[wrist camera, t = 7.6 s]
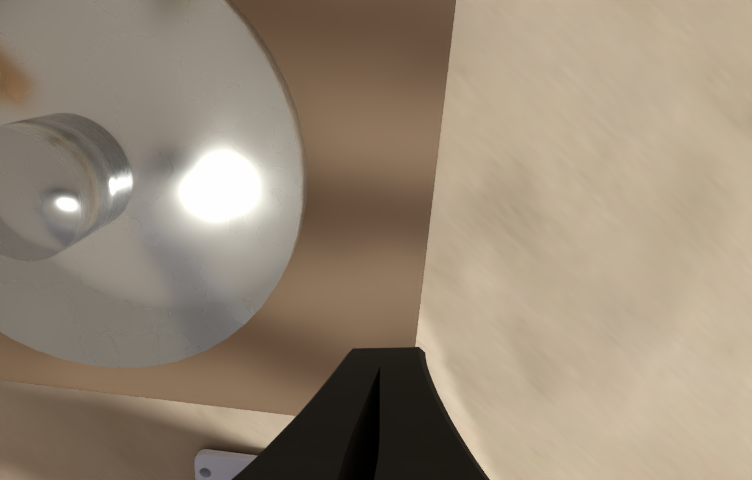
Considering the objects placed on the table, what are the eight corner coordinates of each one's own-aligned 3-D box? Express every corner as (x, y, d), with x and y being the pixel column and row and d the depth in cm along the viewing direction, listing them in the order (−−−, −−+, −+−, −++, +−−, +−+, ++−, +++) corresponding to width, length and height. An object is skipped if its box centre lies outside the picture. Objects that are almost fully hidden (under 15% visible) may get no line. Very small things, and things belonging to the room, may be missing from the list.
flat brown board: (406, 412, 23) (404, 446, 21) (-93, 352, 24) (-138, 380, 22) (473, -160, 16) (479, -186, 14) (-244, -204, 17) (-328, -234, 15)
